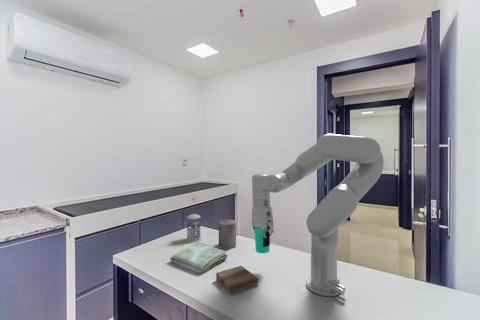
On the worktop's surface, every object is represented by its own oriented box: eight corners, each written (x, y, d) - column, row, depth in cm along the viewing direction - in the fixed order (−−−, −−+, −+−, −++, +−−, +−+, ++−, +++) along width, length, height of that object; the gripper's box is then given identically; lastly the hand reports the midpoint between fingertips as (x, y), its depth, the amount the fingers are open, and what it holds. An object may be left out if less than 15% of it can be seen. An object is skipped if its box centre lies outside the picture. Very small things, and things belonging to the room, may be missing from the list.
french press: (182, 242, 137) (182, 199, 136) (190, 235, 148) (190, 195, 147) (199, 243, 135) (198, 199, 134) (205, 236, 146) (205, 196, 146)
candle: (265, 254, 99) (265, 225, 99) (253, 251, 102) (252, 224, 102) (271, 249, 104) (271, 222, 104) (259, 247, 107) (258, 220, 107)
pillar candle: (221, 241, 137) (221, 216, 137) (237, 243, 136) (237, 217, 135) (216, 248, 128) (216, 221, 127) (234, 250, 126) (233, 222, 125)
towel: (202, 276, 100) (202, 264, 100) (169, 263, 112) (169, 252, 112) (228, 260, 115) (228, 249, 115) (197, 250, 127) (196, 240, 127)
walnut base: (257, 285, 92) (257, 278, 92) (230, 295, 86) (230, 287, 86) (241, 272, 102) (241, 265, 102) (216, 280, 96) (216, 273, 96)
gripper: (281, 204, 98) (282, 248, 98) (256, 198, 112) (257, 237, 112) (266, 206, 94) (267, 252, 94) (243, 200, 108) (244, 240, 108)
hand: (262, 243), depth 103 cm, fingers closed on candle, 4 cm apart
